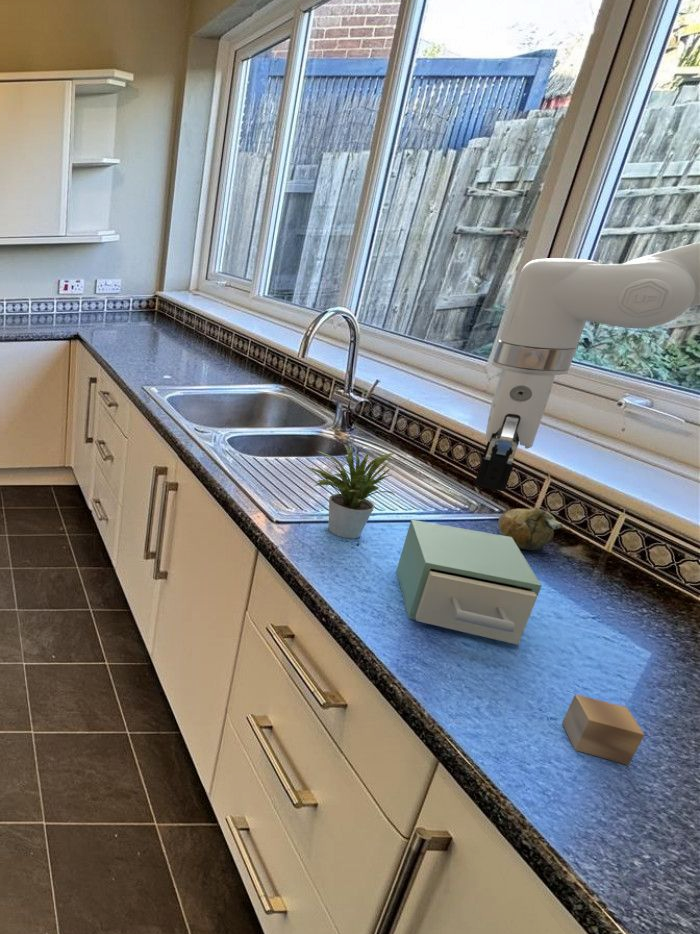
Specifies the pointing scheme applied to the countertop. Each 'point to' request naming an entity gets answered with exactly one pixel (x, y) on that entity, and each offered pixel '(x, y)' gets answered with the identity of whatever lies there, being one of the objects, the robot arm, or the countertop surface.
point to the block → (602, 729)
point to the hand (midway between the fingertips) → (491, 476)
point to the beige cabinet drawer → (475, 606)
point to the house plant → (352, 494)
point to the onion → (528, 527)
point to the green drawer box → (459, 559)
